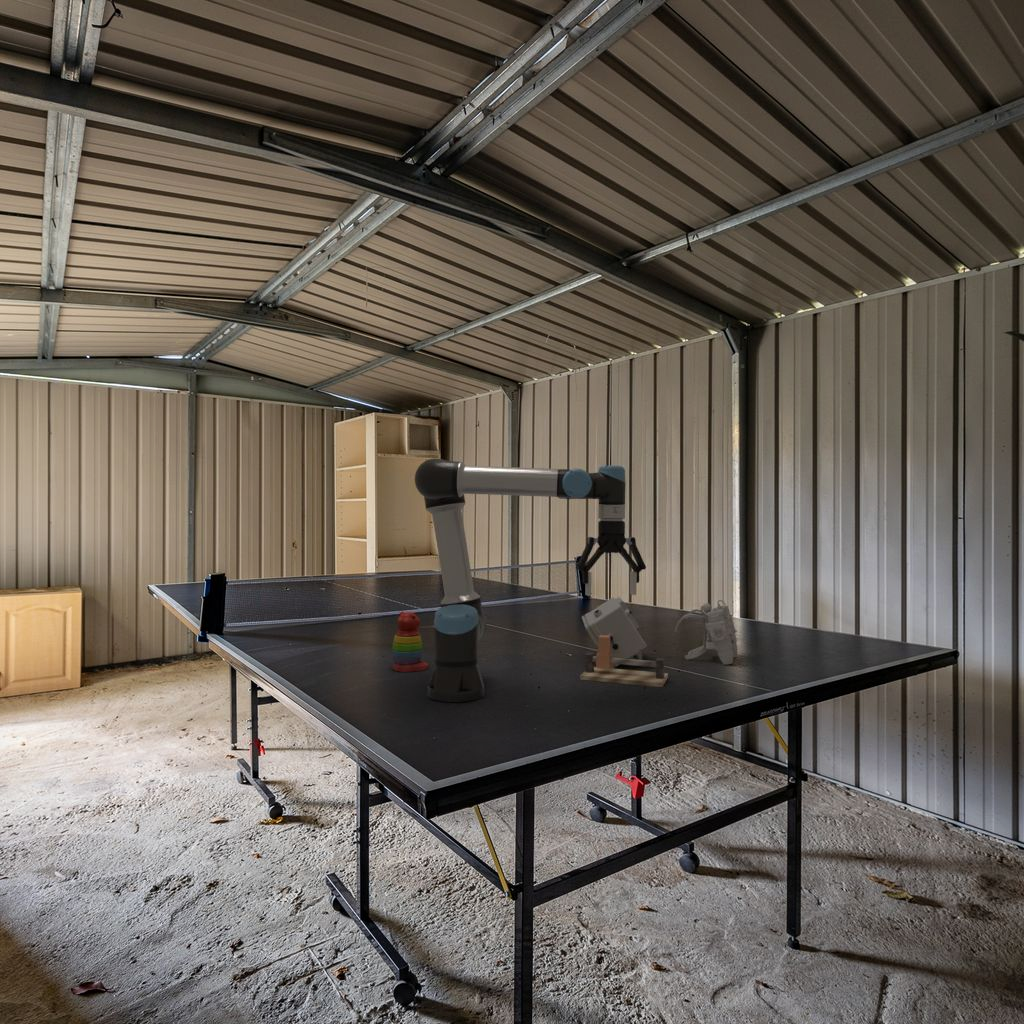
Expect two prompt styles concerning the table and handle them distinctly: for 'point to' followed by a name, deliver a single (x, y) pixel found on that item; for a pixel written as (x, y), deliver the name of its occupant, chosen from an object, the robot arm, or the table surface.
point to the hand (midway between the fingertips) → (610, 595)
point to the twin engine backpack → (715, 632)
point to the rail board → (625, 672)
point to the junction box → (615, 629)
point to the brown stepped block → (603, 652)
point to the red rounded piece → (408, 645)
